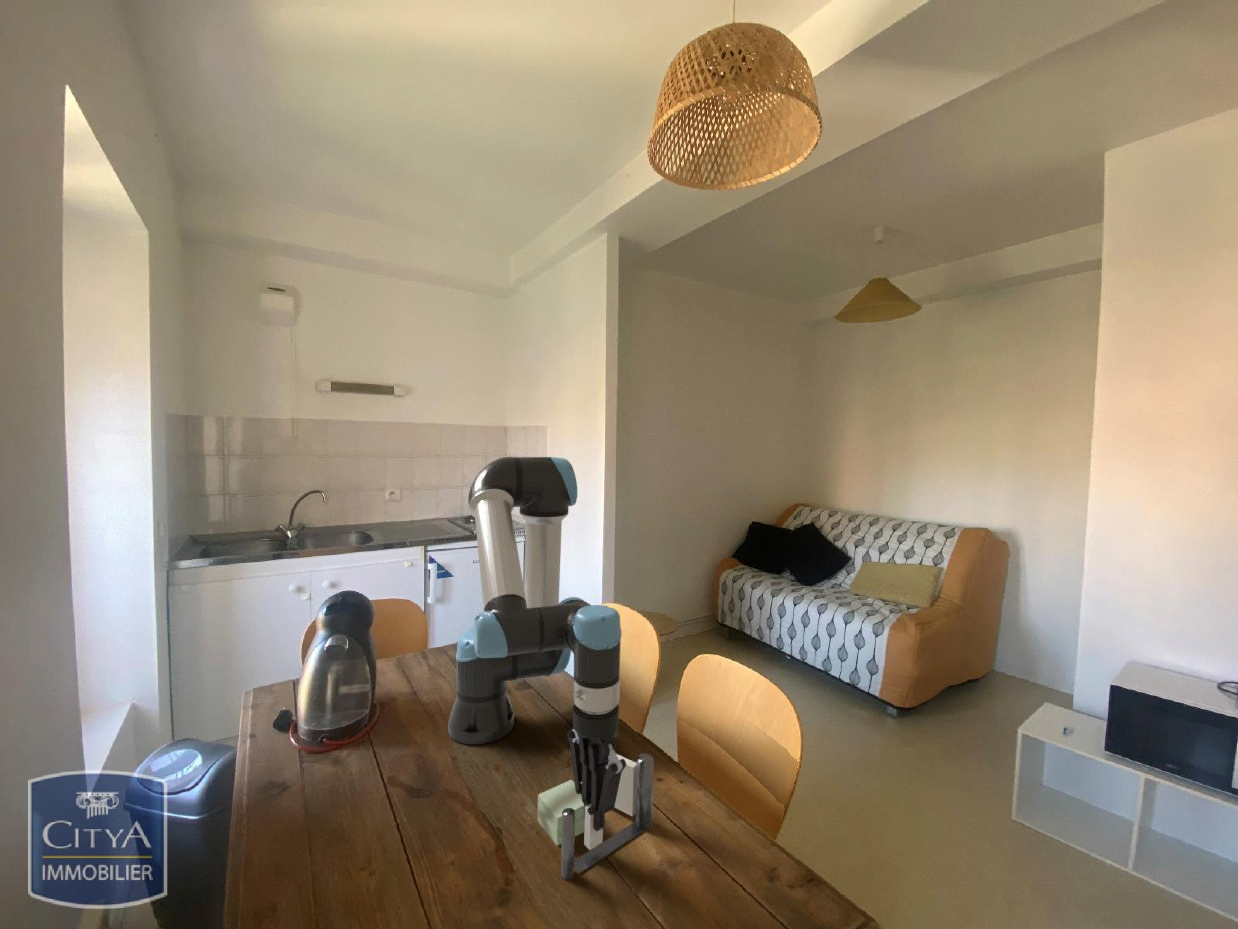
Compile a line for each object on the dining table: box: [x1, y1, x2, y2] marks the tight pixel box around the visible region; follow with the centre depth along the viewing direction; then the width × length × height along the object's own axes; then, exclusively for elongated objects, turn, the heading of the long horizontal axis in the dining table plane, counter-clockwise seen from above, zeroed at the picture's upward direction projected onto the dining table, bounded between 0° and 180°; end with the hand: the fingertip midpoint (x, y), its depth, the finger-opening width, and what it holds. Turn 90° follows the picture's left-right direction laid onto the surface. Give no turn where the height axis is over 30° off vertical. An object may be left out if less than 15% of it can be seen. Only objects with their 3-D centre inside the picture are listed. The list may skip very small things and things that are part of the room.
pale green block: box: [537, 779, 585, 847], centre depth 89 cm, size 7×7×5 cm
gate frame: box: [560, 753, 655, 881], centre depth 84 cm, size 3×19×12 cm, turn 131°
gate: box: [577, 743, 637, 817], centre depth 94 cm, size 13×2×9 cm, turn 55°
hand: (593, 843), depth 83 cm, fingers closed
